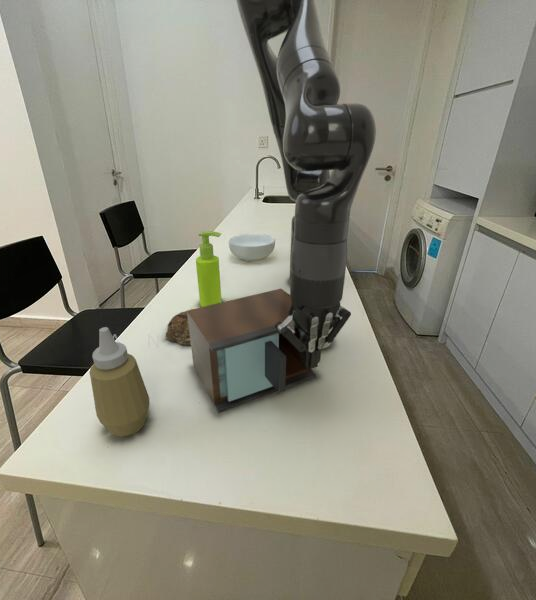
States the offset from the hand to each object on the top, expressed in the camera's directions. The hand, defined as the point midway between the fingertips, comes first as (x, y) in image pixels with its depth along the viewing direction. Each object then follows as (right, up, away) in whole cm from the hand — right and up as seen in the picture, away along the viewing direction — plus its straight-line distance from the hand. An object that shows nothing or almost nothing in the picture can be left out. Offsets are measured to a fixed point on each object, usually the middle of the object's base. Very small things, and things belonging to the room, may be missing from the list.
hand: (310, 365), depth 55 cm
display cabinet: (-9, -3, +10) cm, 14 cm away
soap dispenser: (-19, +10, +36) cm, 42 cm away
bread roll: (-23, +3, +24) cm, 33 cm away
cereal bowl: (-7, +26, +68) cm, 73 cm away
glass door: (-8, -6, +1) cm, 11 cm away
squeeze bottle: (-30, -9, 0) cm, 31 cm away
